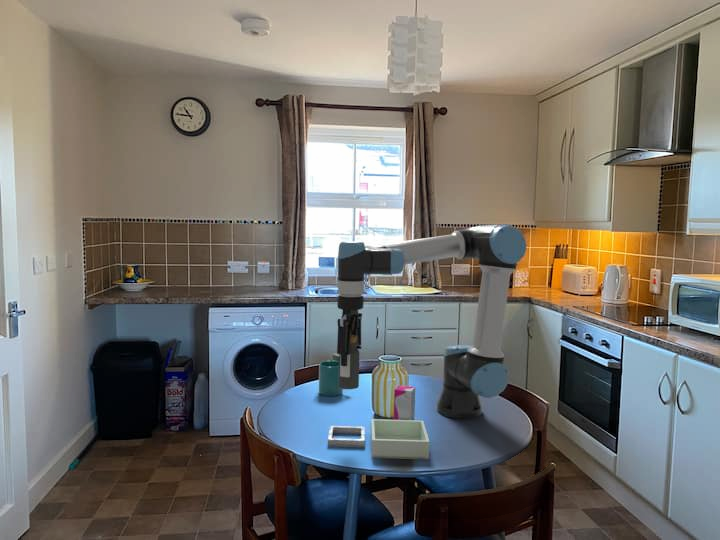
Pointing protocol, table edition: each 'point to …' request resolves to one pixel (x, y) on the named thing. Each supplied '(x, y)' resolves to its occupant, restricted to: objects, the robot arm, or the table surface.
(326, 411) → the table surface
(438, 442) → the table surface
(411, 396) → the supplement box
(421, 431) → the bin
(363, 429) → the collar
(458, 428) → the table surface
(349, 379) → the bottle
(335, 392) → the cup
